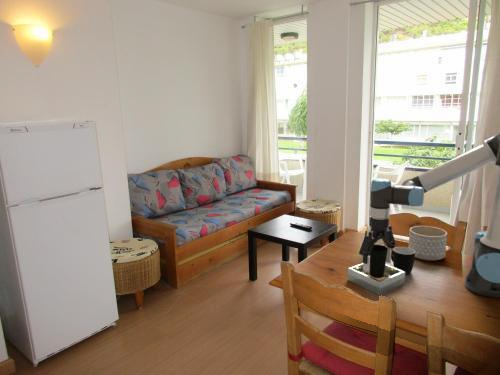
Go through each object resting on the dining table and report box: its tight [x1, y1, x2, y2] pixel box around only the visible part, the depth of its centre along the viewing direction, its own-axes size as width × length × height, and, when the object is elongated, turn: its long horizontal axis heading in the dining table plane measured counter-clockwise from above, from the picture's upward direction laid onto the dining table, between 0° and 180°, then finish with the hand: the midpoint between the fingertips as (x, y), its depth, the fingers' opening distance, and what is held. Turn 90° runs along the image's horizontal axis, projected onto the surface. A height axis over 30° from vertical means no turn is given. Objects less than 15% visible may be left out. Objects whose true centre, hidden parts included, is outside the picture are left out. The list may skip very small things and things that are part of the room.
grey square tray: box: [347, 262, 406, 296], centre depth 153 cm, size 16×16×6 cm
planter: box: [407, 225, 448, 262], centre depth 179 cm, size 16×16×13 cm
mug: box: [391, 246, 416, 276], centre depth 163 cm, size 12×9×10 cm
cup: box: [369, 245, 388, 278], centre depth 152 cm, size 8×8×12 cm
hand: (377, 266), depth 152 cm, fingers open, 13 cm apart
